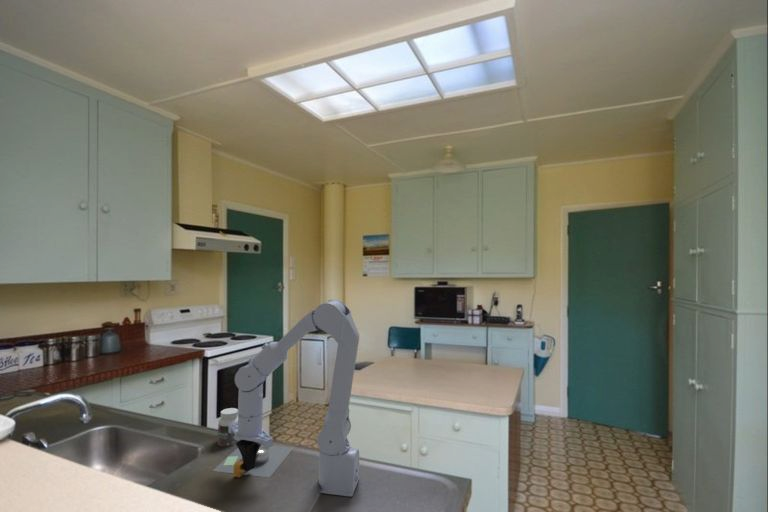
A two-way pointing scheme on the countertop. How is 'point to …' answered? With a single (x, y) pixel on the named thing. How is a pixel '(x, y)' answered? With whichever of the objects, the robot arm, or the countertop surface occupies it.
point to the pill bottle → (226, 419)
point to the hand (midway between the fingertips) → (249, 468)
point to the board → (262, 470)
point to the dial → (260, 459)
